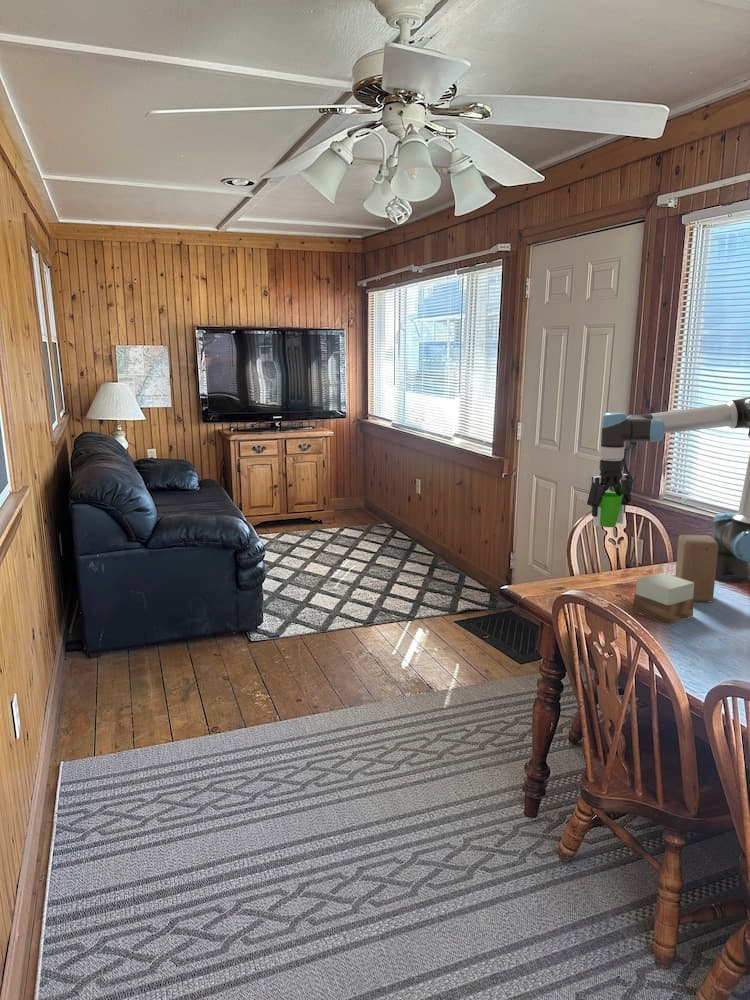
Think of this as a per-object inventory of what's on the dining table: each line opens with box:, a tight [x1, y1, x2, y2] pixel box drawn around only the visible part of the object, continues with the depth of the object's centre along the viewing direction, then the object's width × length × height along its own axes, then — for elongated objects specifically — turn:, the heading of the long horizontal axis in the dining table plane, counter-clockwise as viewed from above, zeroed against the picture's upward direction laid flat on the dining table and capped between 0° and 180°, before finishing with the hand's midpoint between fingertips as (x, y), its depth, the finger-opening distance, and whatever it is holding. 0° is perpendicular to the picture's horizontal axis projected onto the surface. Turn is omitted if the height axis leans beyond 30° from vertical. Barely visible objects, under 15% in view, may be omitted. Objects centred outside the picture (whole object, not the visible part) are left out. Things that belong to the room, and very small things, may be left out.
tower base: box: [632, 593, 695, 625], centre depth 208 cm, size 12×12×6 cm
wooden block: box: [674, 534, 718, 603], centre depth 220 cm, size 10×10×20 cm
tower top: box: [635, 572, 694, 605], centre depth 206 cm, size 12×12×5 cm
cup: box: [599, 491, 624, 528], centre depth 231 cm, size 9×9×11 cm
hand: (607, 524), depth 232 cm, fingers closed on cup, 9 cm apart
